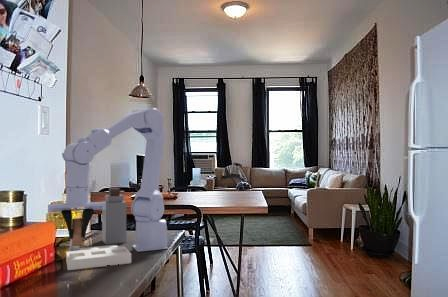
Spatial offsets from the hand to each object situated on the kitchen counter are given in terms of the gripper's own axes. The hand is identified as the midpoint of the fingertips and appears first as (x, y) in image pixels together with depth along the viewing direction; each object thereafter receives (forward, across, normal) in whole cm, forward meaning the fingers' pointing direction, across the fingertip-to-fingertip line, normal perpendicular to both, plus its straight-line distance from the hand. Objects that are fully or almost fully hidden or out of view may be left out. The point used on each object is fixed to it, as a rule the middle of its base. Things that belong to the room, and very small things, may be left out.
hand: (77, 237), depth 103 cm
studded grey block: (+7, +6, +10) cm, 13 cm away
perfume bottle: (+7, +14, +25) cm, 29 cm away
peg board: (+7, +6, 0) cm, 9 cm away
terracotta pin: (+2, 0, 0) cm, 2 cm away
